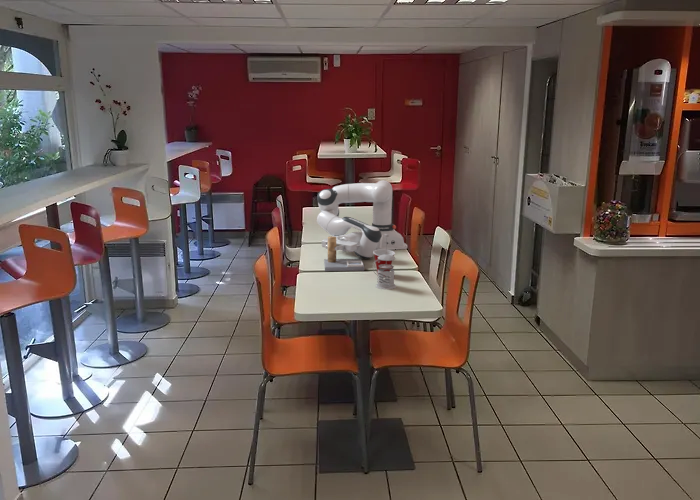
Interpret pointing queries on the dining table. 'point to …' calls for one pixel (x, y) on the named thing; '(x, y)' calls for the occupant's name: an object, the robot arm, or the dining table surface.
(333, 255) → the oak column
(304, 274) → the dining table surface
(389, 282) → the french press
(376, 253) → the plastic cup
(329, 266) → the board
